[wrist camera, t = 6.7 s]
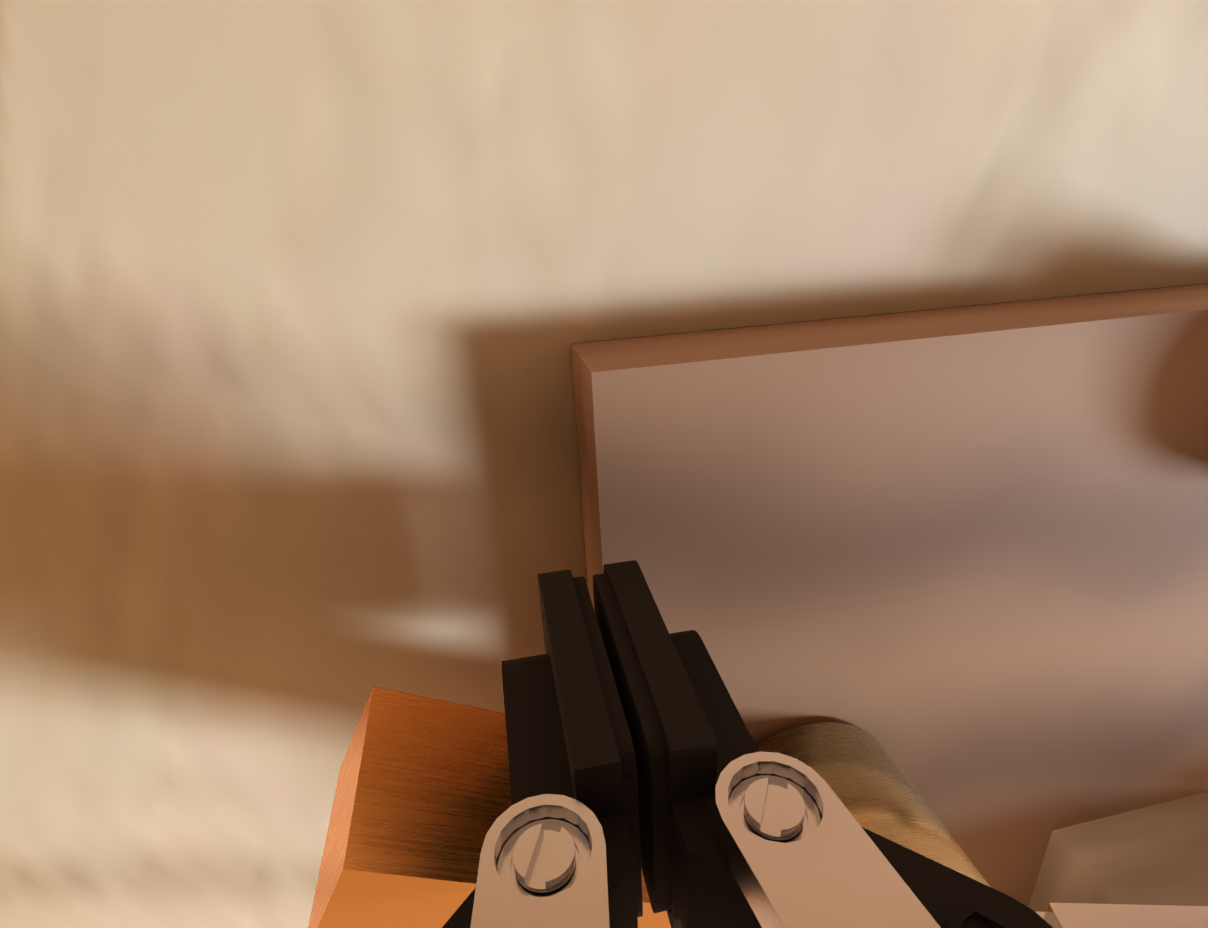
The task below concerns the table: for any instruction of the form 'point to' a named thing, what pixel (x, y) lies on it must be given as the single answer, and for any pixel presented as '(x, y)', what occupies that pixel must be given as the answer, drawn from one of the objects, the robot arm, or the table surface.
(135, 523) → the table surface
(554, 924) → the robot arm
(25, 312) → the table surface
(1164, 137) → the table surface
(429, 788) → the orange lever bar
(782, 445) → the base
